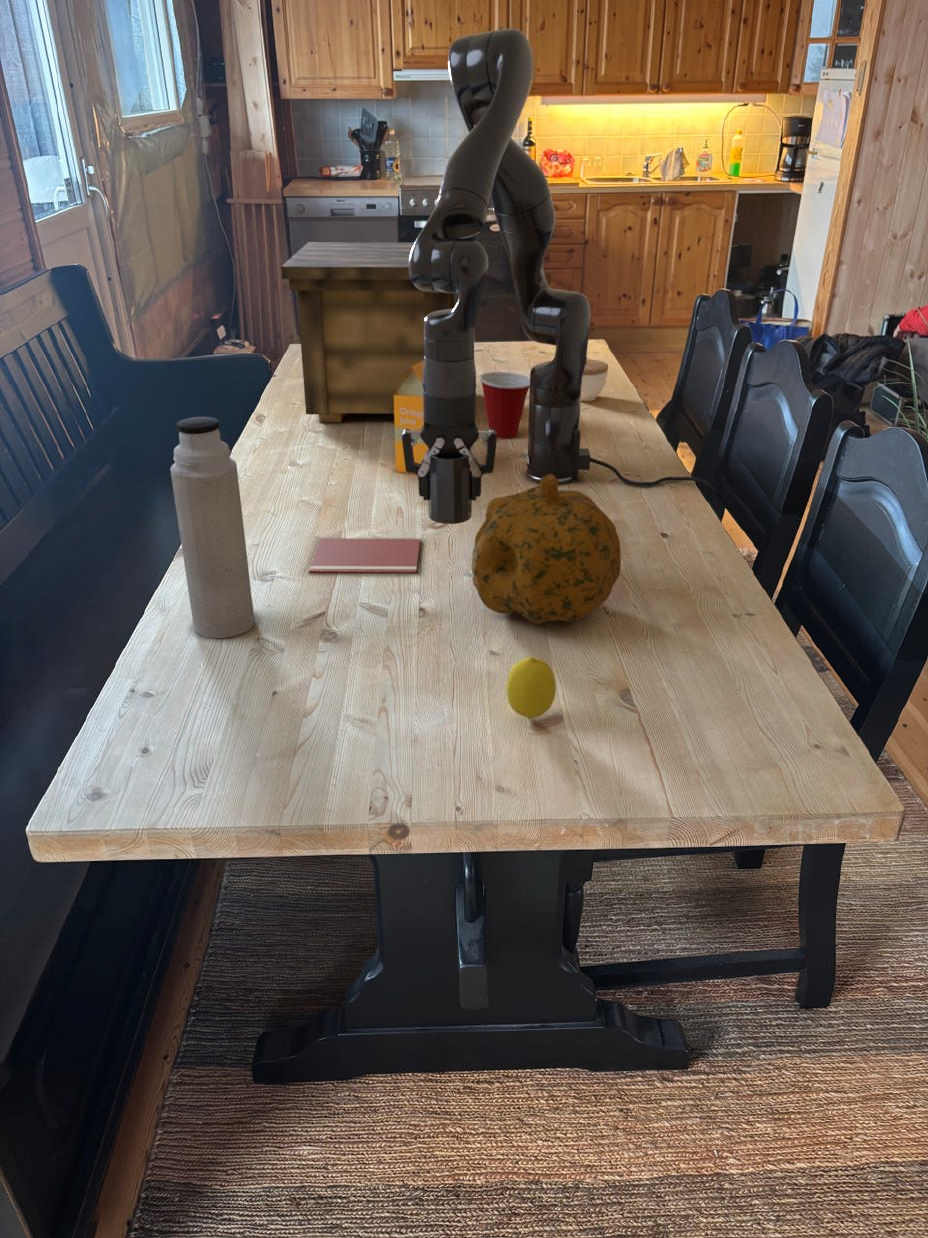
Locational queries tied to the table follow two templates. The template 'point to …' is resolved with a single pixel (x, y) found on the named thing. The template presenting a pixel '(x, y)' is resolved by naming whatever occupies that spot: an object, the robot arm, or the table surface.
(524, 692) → the lemon
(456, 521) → the black cup
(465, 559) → the table surface
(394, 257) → the crate
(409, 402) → the orange juice
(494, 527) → the decorative pumpkin
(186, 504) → the thermos bottle
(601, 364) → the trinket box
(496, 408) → the plastic cup
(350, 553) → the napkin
